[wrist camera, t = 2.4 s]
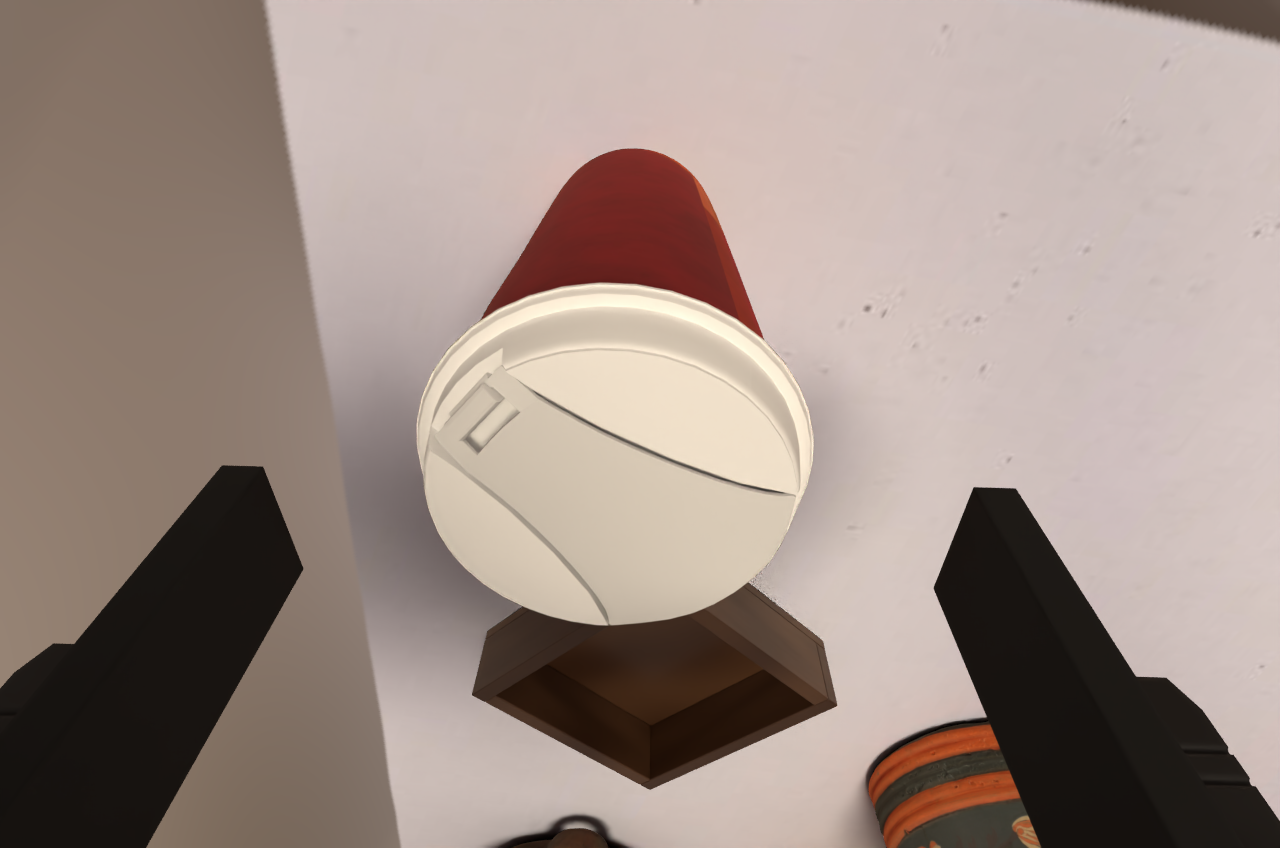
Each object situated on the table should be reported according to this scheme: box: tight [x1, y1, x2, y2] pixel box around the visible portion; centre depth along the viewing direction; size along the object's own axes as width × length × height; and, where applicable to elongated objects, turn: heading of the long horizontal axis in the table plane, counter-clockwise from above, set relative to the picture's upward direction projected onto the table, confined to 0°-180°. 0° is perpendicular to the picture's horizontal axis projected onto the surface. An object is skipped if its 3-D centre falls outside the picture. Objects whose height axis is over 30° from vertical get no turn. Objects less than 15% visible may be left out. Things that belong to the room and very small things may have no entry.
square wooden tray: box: [472, 583, 837, 790], centre depth 38 cm, size 14×14×4 cm
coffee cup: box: [417, 149, 814, 626], centre depth 19 cm, size 8×8×15 cm
